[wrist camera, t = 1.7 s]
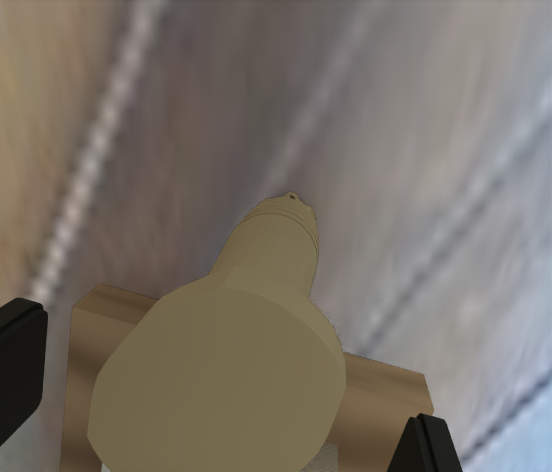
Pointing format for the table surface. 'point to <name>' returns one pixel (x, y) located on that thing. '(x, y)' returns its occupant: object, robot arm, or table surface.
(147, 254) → the table surface
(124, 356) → the handle
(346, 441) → the board
